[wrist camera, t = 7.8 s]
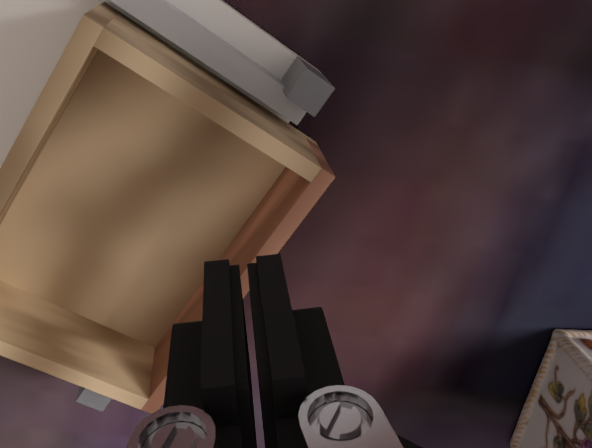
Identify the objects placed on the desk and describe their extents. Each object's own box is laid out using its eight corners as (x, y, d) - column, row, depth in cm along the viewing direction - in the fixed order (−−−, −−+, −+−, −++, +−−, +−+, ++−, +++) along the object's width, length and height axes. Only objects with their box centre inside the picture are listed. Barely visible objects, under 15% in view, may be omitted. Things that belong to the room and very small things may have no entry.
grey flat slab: (319, 70, 29) (335, 88, 26) (112, 364, 36) (102, 411, 32) (-11, -169, 23) (-50, -189, 19) (-190, 240, 29) (-244, 281, 26)
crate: (315, 142, 30) (335, 177, 25) (160, 353, 34) (154, 414, 30) (104, 1, 25) (83, 14, 21) (-41, 266, 30) (-84, 322, 26)
